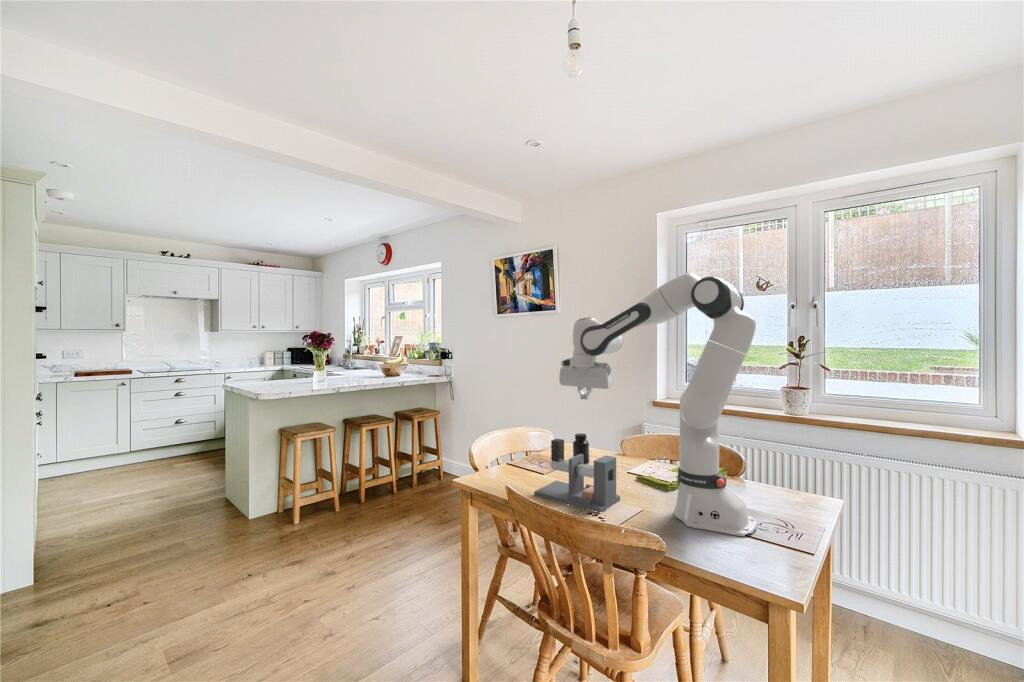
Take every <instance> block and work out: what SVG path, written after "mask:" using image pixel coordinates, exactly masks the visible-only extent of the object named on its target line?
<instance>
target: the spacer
mask: <svg viewBox="0 0 1024 682" xmlns="http://www.w3.org/2000/svg"><path fill="white" fill-rule="evenodd" d="M582 497H583V498H587V499H591V500H592V502H593V501H594V487H592V486H591V487H589V488H587V489H585V490H583V491H582Z"/></svg>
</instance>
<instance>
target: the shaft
mask: <svg viewBox="0 0 1024 682" xmlns="http://www.w3.org/2000/svg"><path fill="white" fill-rule="evenodd" d="M550 443H551V444H550V445H551V446H550V448H551V451H550V452H551V453H550V455H551V458H550V459H551V470H555V471H558V472H564V473H568V474H569V460H565V439H561V438H560V439H559V438H554V439H552V440H551V442H550ZM575 474H576V475H581V476H584V477H587V478H591V479H594V465H590V464H581V463H577V464H575Z"/></svg>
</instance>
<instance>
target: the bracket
mask: <svg viewBox="0 0 1024 682" xmlns="http://www.w3.org/2000/svg"><path fill="white" fill-rule="evenodd" d="M568 461H569V473H568V482H564V481H559V480H555V481H553V482H551V483H548V484H547V485H545V486H542V487H540V488H539V489H537V490H535V491H534V497H537V498H541V499H545V500H549V501H552V500H553V501H552V502H557V503H559V502H560V503H559V504H563V503H565V504H564V505H567V504H569V505H568V506H570V505H573V506H572V507H574V506H576V507H575V508H578V507H580V508H579V509H582V508H584V509H583V510H585V509H589V510H593V511H597V512H603V511H604V510H605V511H607V510H608V509H609V507H610V506H611V507H613V506H614V505H615V504H617V503H618V502H619V501H621V495H620V494H617V457H616V456H609V455H606V454H605V455H603V456H601V457H598V458H596V459H595V460H593V466H594V478H593V484H588V483H587V484H585V480H584V479H585V476H581V475H576V474H575V464H577V463H581V464H584V454H579V455H577V456H574V457H573V456H572V457H569V458H568ZM591 486H592V487H594V501H593V502H592V500H591V499H587V498H583V497H582V491H583V490H585V489H587V488H589V487H591ZM613 504H614V505H613ZM612 505H613V506H612ZM611 507H610V508H611ZM607 508H608V509H607ZM606 509H607V510H606ZM589 510H588V511H589ZM593 511H592V512H593ZM605 511H604V512H605ZM604 512H603V513H604Z"/></svg>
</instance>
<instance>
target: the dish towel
mask: <svg viewBox="0 0 1024 682" xmlns="http://www.w3.org/2000/svg"><path fill="white" fill-rule="evenodd" d="M679 467H680V466H678V467H675V468H671V469H672V470H671V469H669V470H670V471H672V472H676V473H677V472H678V468H679ZM719 471H720V472H721V473H722V474H723V475H724V476H725V475H726V474H727V475H728V471H727V467H719ZM635 477H636V481H637V482H640V481H641V482H640V483H642V482H643V484H645V483H646V485H648V486H650V485H651V487H653V486H654V487H653V488H656V487H657V488H656V489H659V488H661V489H663V490H662V491H664V490H665V492H667V491H669V492H668V493H671V492H674V490H675V491H678V490H679V486H678V480H676V481H672V482H665V481H661V480H658V479H656V478H654V477H652V476H646V475H642V476H641V475H637V476H635ZM675 478H677V476H676V477H675ZM661 489H660V490H661ZM677 489H678V490H677ZM670 491H671V492H670Z"/></svg>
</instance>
